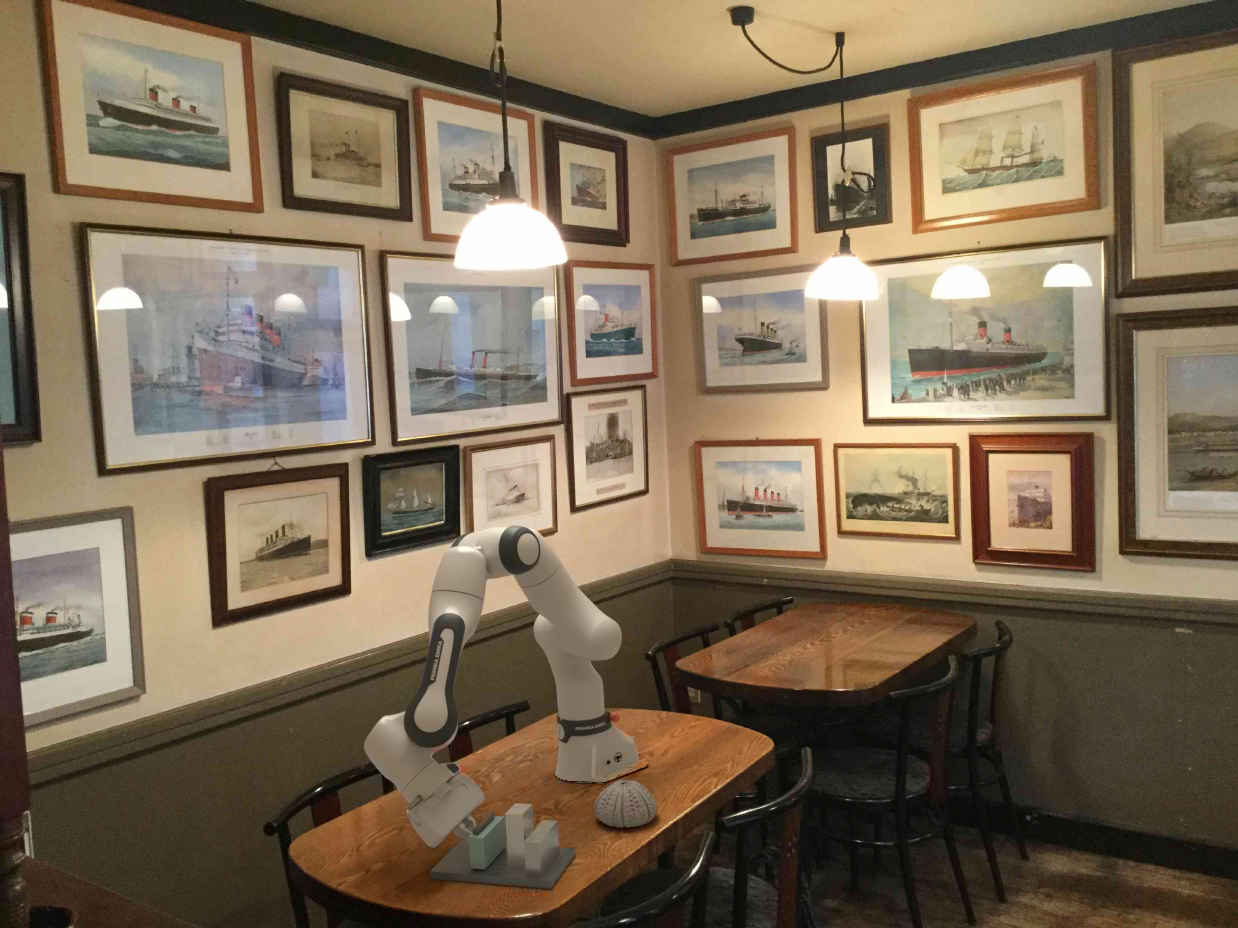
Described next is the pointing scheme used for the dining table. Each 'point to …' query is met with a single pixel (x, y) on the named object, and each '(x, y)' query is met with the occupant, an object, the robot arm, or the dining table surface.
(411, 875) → the dining table surface
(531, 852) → the vise
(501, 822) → the sliding jaw
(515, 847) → the block
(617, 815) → the sea urchin shell
